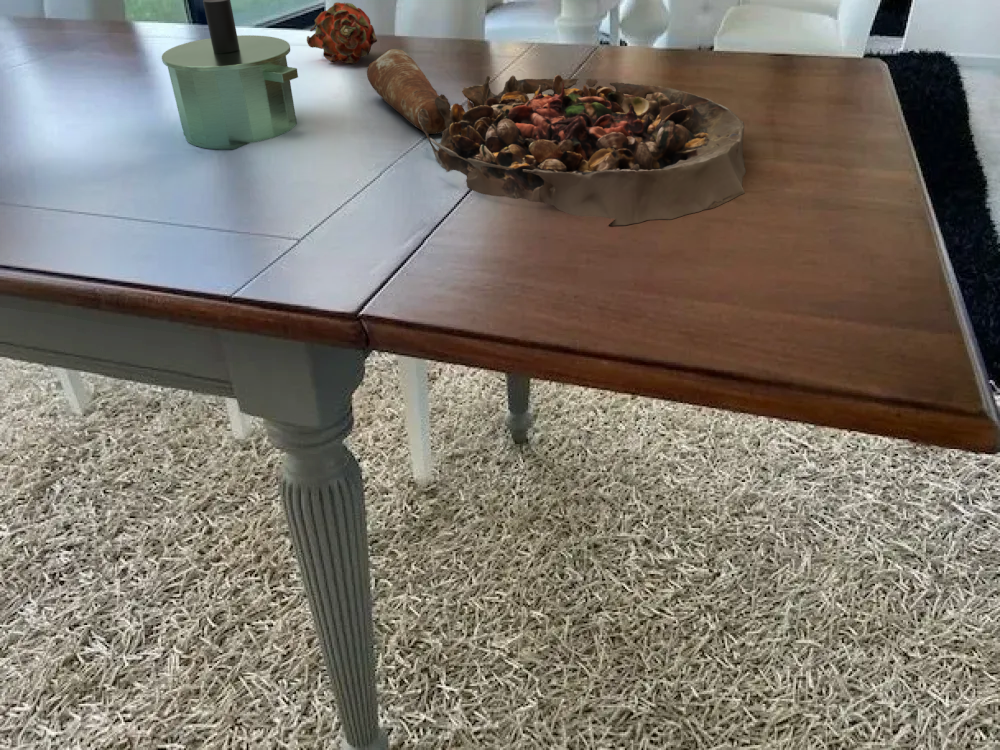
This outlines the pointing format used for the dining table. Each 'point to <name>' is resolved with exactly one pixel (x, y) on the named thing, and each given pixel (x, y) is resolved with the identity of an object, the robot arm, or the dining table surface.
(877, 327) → the dining table surface
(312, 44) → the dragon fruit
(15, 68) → the dining table surface
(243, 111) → the pot
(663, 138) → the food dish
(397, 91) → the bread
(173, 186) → the dining table surface
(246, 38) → the lid
